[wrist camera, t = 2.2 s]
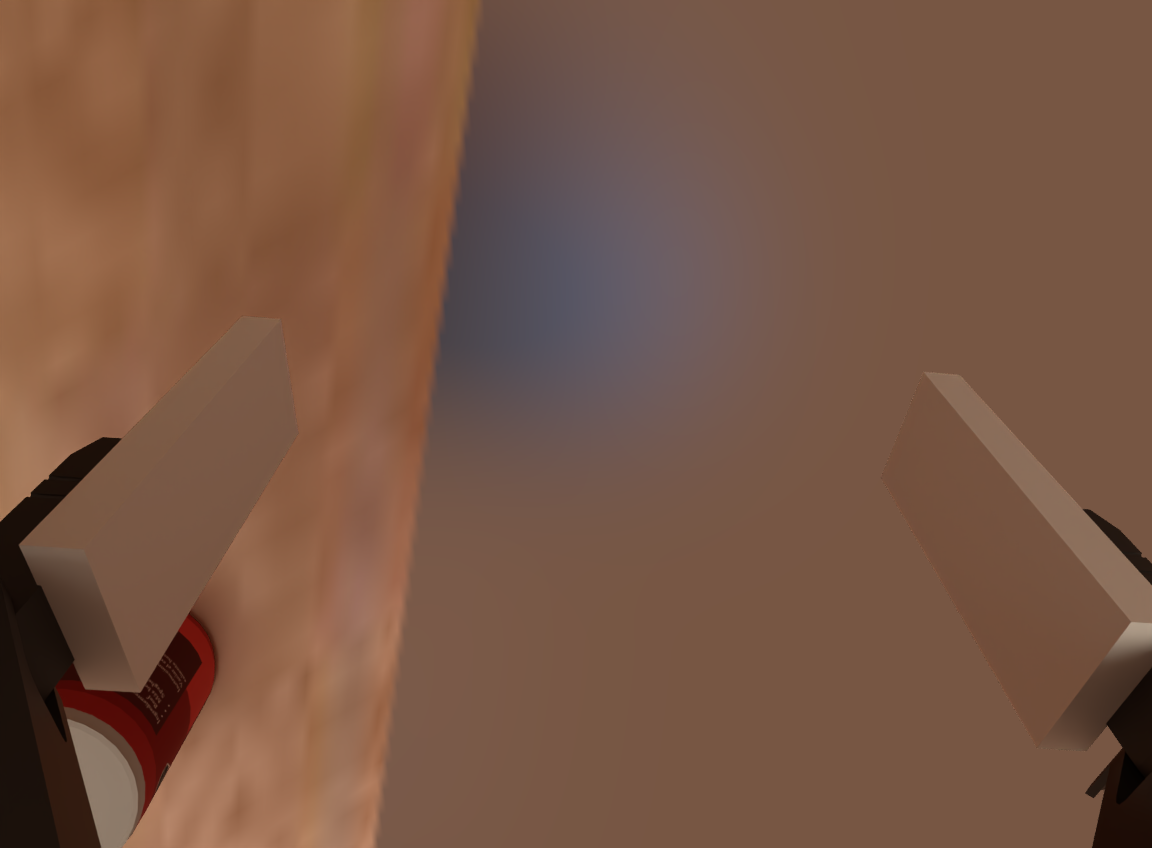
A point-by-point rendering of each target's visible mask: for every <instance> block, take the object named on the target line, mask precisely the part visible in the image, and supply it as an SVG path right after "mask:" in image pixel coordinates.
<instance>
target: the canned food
mask: <svg viewBox="0 0 1152 848" xmlns="http://www.w3.org/2000/svg"><path fill="white" fill-rule="evenodd" d="M214 670H215V658H214V653H213V647H212V644H211V642H210V640H209V637H208V635H207V633H206V632H205V630H204V629H203V628H202V626H201V625H200V624H199V623H198V622H197V621H196V620H195V619H194V618H193V617H192V616H191V615H189V614H188V615H187V617H186V619H185V620H184V622H183V623H182V625H181V627H180V628H179V630H178V632H177V633H176V635H175V637H174V638H173V640H172V641H171V643H170V645H169V646H168V648H167V650H166V651H165V653H164V655H163V656H162V658H161V660H160V661H159V663H158V664H157V666H156V668H155V669H154V671H153V673H152V674H151V676H150V678H149V679H148V681H147V682H146V684H145V686H144V687H143V689H142V691H141V692H140V693H138V692H122V691H106V690H90V689H85V688H84V686H83V683H82V681H81V679H80V677H79V675H78V673H77V670H76V668H75V666H74V664H73V663H72V664H71V666H70V667H69V668H68V670H67V671H66V672H65V674H64V675H63V677H62V678H61V679H60V681H59V682H58V683H57V685H56V686H55V687H56V689H57V691H58V693H59V695H60V697H61V699H62V702H63V706H64V710H65V714H66V717H67V721H68V725H69V729H70V732H71V736H72V740H73V744H74V747H75V751H76V755H77V758H78V762H79V766H80V770H81V773H82V777H83V781H84V785H85V788H86V792H87V796H88V799H89V803H90V807H91V811H92V814H93V818H94V822H95V826H96V829H97V833H98V837H99V840H100V844H101V848H122V847H123V845H124V844H125V843H126V841H127V840H128V839H129V837H130V836H131V835H132V834H133V832H134V830H135V828H136V826H137V825H138V823H139V821H140V819H141V818H142V816H143V815H144V813H145V811H146V810H147V808H148V806H149V804H150V802H151V801H152V799H153V797H154V795H155V793H156V791H157V790H158V788H159V786H160V784H161V782H162V781H163V779H164V777H165V775H166V773H167V771H168V770H169V768H170V766H171V764H172V762H173V761H174V759H175V757H176V755H177V753H178V751H179V750H180V748H181V746H182V744H183V742H184V741H185V739H186V737H187V735H188V733H189V731H190V730H191V728H192V726H193V724H194V722H195V721H196V719H197V717H198V715H199V713H200V711H201V710H202V708H203V706H204V704H205V702H206V700H207V698H208V696H209V694H210V692H211V689H212V685H213V681H214Z"/></svg>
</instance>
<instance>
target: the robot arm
mask: <svg viewBox="0 0 1152 848" xmlns="http://www.w3.org/2000/svg"><path fill="white" fill-rule="evenodd" d="M297 435H298V427H297V420H296V414H295V407H294V401H293V394H292V388H291V381H290V375H289V368H288V361H287V355H286V348H285V342H284V335H283V329H282V322H281V319H275V318H263V317H250V316H241V317H240V318H239V319H238V321H237V322H236V323H235V324H234V325H233V326H232V327H231V328H230V329H229V330H228V331H227V332H226V333H225V334H224V335H223V336H222V337H221V338H220V339H219V340H218V341H217V342H216V343H215V344H214V345H213V346H212V347H211V348H210V349H209V350H208V351H207V352H206V353H205V354H204V355H203V356H202V357H201V358H200V359H199V361H198V362H197V363H196V364H195V365H194V366H193V367H192V368H191V369H190V370H189V371H188V372H187V373H186V374H185V375H184V376H183V377H182V378H181V379H180V380H179V381H178V382H177V383H176V384H175V385H174V386H173V387H172V388H171V389H170V390H169V391H168V392H167V393H166V394H165V395H164V396H163V397H162V398H161V399H160V401H159V402H158V403H157V404H156V405H155V406H154V407H153V408H152V409H151V410H150V411H149V412H148V413H147V414H146V415H145V416H144V417H143V418H142V419H141V420H140V421H139V422H138V423H137V424H136V425H135V426H134V427H133V428H132V429H131V430H130V431H129V432H128V433H127V434H126V435H125V436H124V437H123V438H122V439H120V438H107V437H102V438H100V439H99V440H97V441H95V442H93V443H91V444H89V445H87V446H86V447H84V448H82V449H80V450H78V451H76V452H74V453H73V454H71V455H70V456H69V457H68V458H67V459H66V460H65V461H64V462H62V463H61V464H60V465H59V466H58V467H57V468H56V469H55V470H54V471H53V472H52V473H51V474H50V475H49V479H48V480H44V481H43V482H41V483H40V484H39V485H38V486H37V487H36V488H35V489H34V490H33V491H32V492H31V496H30V497H26V498H25V499H24V500H23V501H22V502H21V503H19V504H18V505H17V506H16V507H15V508H14V509H13V510H12V511H11V512H10V513H9V514H8V515H7V516H6V517H5V518H4V519H3V520H2V521H1V522H0V848H101V844H100V840H99V837H98V833H97V829H96V826H95V822H94V818H93V814H92V811H91V807H90V803H89V799H88V796H87V792H86V788H85V785H84V781H83V777H82V773H81V770H80V766H79V762H78V758H77V755H76V751H75V747H74V744H73V740H72V736H71V732H70V729H69V725H68V721H67V717H66V714H65V710H64V706H63V702H62V699H61V697H60V695H59V693H58V691H57V689H56V687H55V686H56V685H57V683H58V682H59V681H60V679H61V678H62V677H63V675H64V674H65V672H66V671H67V670H68V668H69V667H70V666H71V664H72V663H73V664H74V666H75V668H76V670H77V673H78V675H79V677H80V679H81V681H82V683H83V686H84V688H85V689H90V690H106V691H122V692H138V693H140V692H141V691H142V689H143V687H144V686H145V684H146V682H147V681H148V679H149V678H150V676H151V674H152V673H153V671H154V669H155V668H156V666H157V664H158V663H159V661H160V660H161V658H162V656H163V655H164V653H165V651H166V650H167V648H168V646H169V645H170V643H171V641H172V640H173V638H174V637H175V635H176V633H177V632H178V630H179V628H180V627H181V625H182V623H183V622H184V620H185V619H186V617H187V615H188V614H189V612H190V610H191V609H192V607H193V605H194V604H195V602H196V601H197V599H198V597H199V596H200V594H201V592H202V591H203V589H204V587H205V586H206V584H207V582H208V581H209V579H210V578H211V576H212V574H213V573H214V571H215V569H216V568H217V566H218V564H219V563H220V561H221V560H222V558H223V556H224V555H225V553H226V551H227V550H228V548H229V546H230V545H231V543H232V542H233V540H234V538H235V537H236V535H237V533H238V532H239V530H240V528H241V527H242V525H243V523H244V522H245V520H246V519H247V517H248V515H249V514H250V512H251V510H252V509H253V507H254V505H255V504H256V502H257V501H258V499H259V497H260V496H261V494H262V492H263V491H264V489H265V487H266V486H267V484H268V483H269V481H270V479H271V478H272V476H273V474H274V473H275V471H276V469H277V468H278V466H279V464H280V463H281V461H282V460H283V458H284V456H285V455H286V453H287V451H288V450H289V448H290V446H291V445H292V443H293V442H294V440H295V438H296V437H297ZM881 479H882V480H883V483H884V484H885V486H886V488H887V490H888V491H889V493H890V495H891V496H892V498H893V500H894V502H895V503H896V505H897V507H898V508H899V510H900V512H901V514H902V515H903V517H904V519H905V520H906V522H907V524H908V526H909V528H910V529H911V530H912V533H913V535H914V536H915V538H916V539H917V541H918V543H919V545H920V547H921V548H922V550H923V552H924V553H925V555H926V557H927V559H928V561H929V562H930V564H931V566H932V567H933V569H934V571H935V573H936V574H937V576H938V578H939V579H940V581H941V583H942V585H943V587H944V588H945V590H946V592H947V593H948V595H949V597H950V599H951V600H952V602H953V604H954V606H955V607H956V609H957V611H958V612H959V614H960V616H961V618H962V619H963V621H964V623H965V625H966V626H967V628H968V630H969V632H970V633H971V635H972V637H973V638H974V640H975V642H976V644H977V645H978V647H979V649H980V651H981V652H982V654H983V656H984V658H985V659H986V661H987V663H988V665H989V666H990V668H991V670H992V671H993V673H994V675H995V677H996V678H997V680H998V682H999V684H1000V685H1001V687H1002V689H1003V691H1004V692H1005V694H1006V696H1007V697H1008V699H1009V701H1010V702H1011V704H1012V706H1013V707H1014V710H1015V711H1016V713H1017V715H1018V717H1019V718H1020V720H1021V722H1022V723H1023V725H1024V727H1025V729H1026V730H1027V732H1028V734H1029V736H1030V737H1031V739H1032V741H1033V743H1034V744H1035V746H1036V748H1043V749H1059V750H1076V751H1087V750H1088V749H1089V747H1090V746H1091V745H1092V744H1093V742H1094V741H1095V740H1096V739H1097V737H1098V736H1099V735H1100V734H1101V733H1102V732H1103V730H1104V729H1105V728H1106V727H1107V725H1108V727H1109V728H1110V730H1111V731H1112V733H1113V734H1114V736H1115V737H1116V738H1117V740H1118V741H1119V743H1120V744H1121V746H1122V747H1123V748H1122V749H1121V750H1120V752H1119V753H1118V754H1117V755H1116V756H1115V758H1114V759H1113V760H1112V761H1111V762H1110V763H1109V764H1108V765H1107V767H1106V768H1105V769H1104V770H1103V771H1102V772H1101V774H1100V775H1099V776H1098V777H1097V778H1096V779H1095V781H1094V782H1093V783H1092V784H1091V785H1090V787H1089V788H1088V790H1087V791H1086V794H1088V795H1089V796H1091V797H1093V798H1094V797H1095V796H1096V795H1097V794H1098V793H1099V791H1100V790H1104V789H1105V791H1104V795H1103V800H1102V805H1101V809H1100V814H1099V818H1098V823H1097V828H1096V832H1095V836H1094V841H1093V846H1092V848H1152V564H1151V563H1150V561H1149V560H1147V558H1143V557H1141V554H1142V553H1141V552H1140V551H1139V550H1138V549H1137V548H1136V547H1135V546H1134V545H1133V544H1132V542H1131V541H1130V540H1129V539H1128V538H1127V537H1126V536H1125V535H1124V534H1123V533H1122V532H1121V531H1120V530H1119V529H1117V528H1116V527H1114V526H1113V525H1112V524H1110V523H1108V522H1107V521H1106V520H1104V519H1103V518H1101V517H1100V516H1098V515H1097V514H1095V513H1094V512H1093V511H1091V510H1088V509H1082V508H1081V507H1080V506H1079V505H1078V504H1077V503H1076V502H1075V501H1074V500H1073V499H1072V497H1071V496H1070V495H1069V494H1068V493H1067V492H1066V491H1065V490H1064V489H1063V488H1062V487H1061V486H1060V485H1059V483H1058V482H1057V481H1056V480H1055V479H1054V478H1053V477H1052V476H1051V474H1050V473H1049V472H1048V471H1047V470H1046V469H1045V468H1044V467H1043V466H1042V465H1041V464H1040V463H1039V461H1038V460H1037V459H1036V458H1035V457H1034V456H1033V455H1032V454H1031V453H1030V452H1029V450H1028V449H1027V448H1026V447H1025V446H1024V445H1023V444H1022V443H1021V442H1020V441H1019V439H1018V438H1017V437H1016V436H1015V435H1014V434H1013V433H1012V432H1011V431H1010V430H1009V429H1008V427H1007V426H1006V425H1005V424H1004V423H1003V422H1002V421H1001V420H1000V419H999V418H998V416H997V415H996V414H995V413H994V412H993V411H992V410H991V409H990V408H989V407H988V406H987V405H986V403H985V402H984V401H983V400H982V399H981V398H980V397H979V396H978V395H977V394H976V392H975V391H974V390H973V389H972V388H971V387H970V386H969V385H968V384H967V383H966V381H965V380H964V379H963V378H962V377H961V376H960V375H955V374H943V373H931V372H923V374H922V377H921V379H920V381H919V384H918V386H917V389H916V391H915V394H914V396H913V399H912V401H911V404H910V406H909V409H908V411H907V414H906V416H905V419H904V421H903V424H902V426H901V429H900V431H899V434H898V436H897V439H896V441H895V444H894V446H893V449H892V451H891V453H890V456H889V458H888V461H887V463H886V466H885V468H884V471H883V473H882V476H881Z"/></svg>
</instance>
